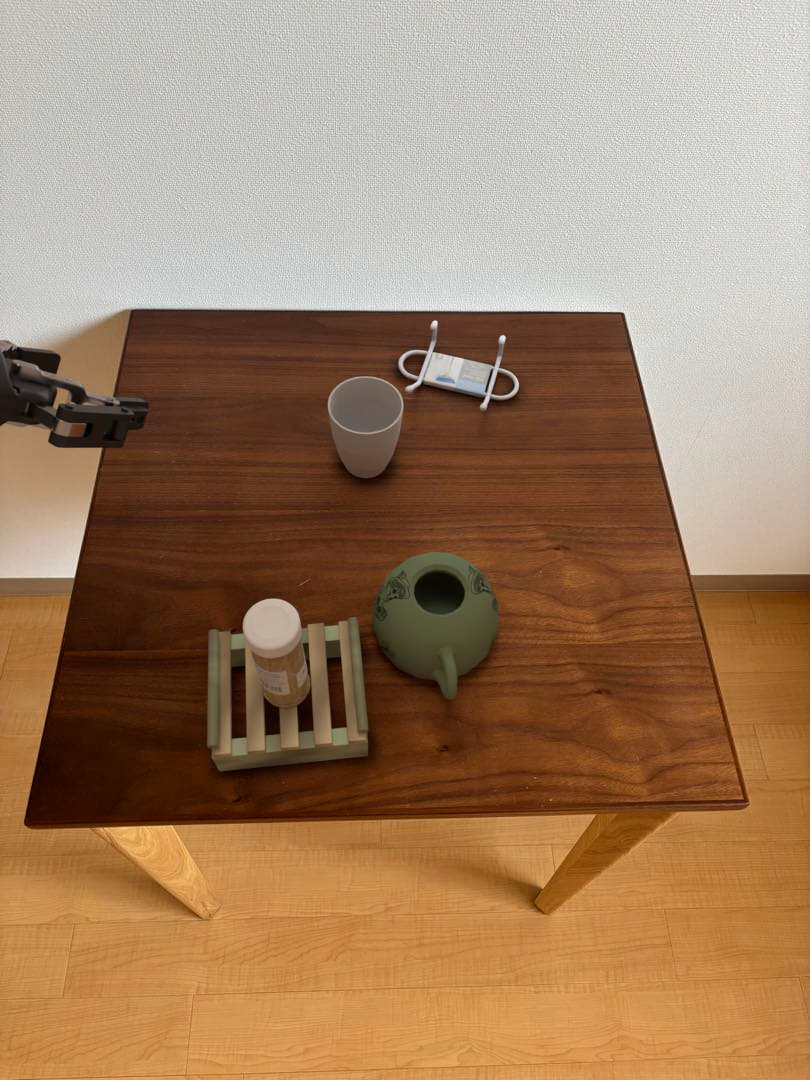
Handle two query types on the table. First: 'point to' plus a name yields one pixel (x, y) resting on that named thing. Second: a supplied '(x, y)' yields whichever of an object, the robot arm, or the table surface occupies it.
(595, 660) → the table surface
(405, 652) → the olive green ceramic pot
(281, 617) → the sprinkles bottle
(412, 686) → the table surface
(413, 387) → the wall mount rack
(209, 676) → the drying rack
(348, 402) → the cup
